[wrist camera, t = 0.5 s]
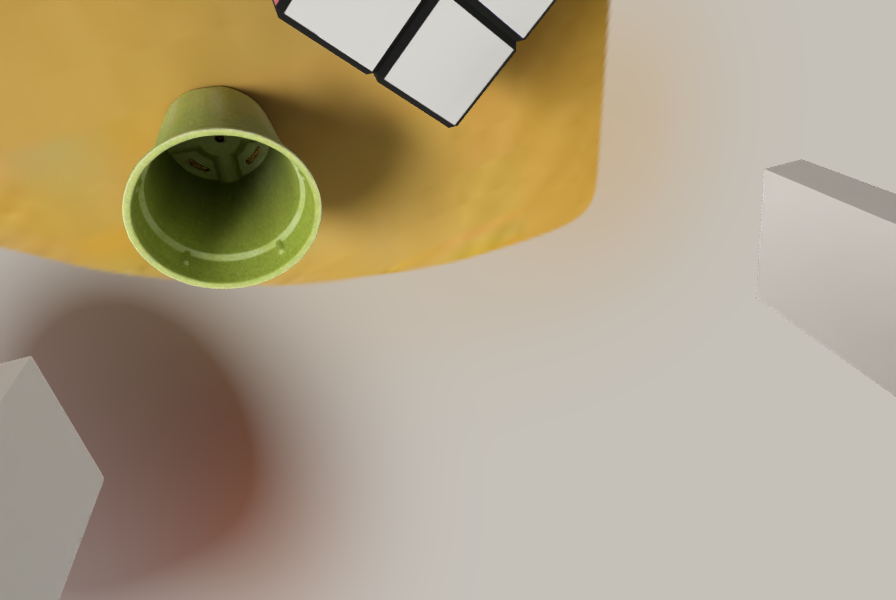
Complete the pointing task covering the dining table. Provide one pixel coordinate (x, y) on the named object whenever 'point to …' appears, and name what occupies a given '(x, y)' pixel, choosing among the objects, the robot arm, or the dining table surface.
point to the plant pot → (220, 195)
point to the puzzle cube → (421, 43)
